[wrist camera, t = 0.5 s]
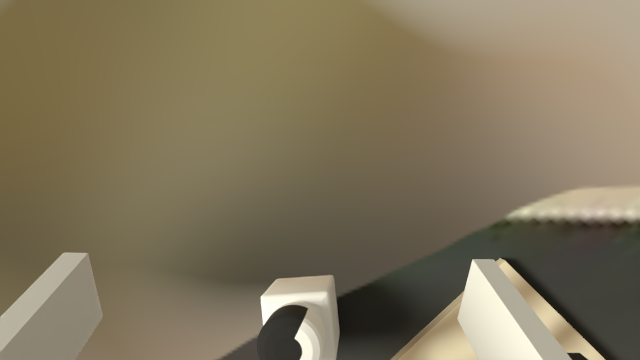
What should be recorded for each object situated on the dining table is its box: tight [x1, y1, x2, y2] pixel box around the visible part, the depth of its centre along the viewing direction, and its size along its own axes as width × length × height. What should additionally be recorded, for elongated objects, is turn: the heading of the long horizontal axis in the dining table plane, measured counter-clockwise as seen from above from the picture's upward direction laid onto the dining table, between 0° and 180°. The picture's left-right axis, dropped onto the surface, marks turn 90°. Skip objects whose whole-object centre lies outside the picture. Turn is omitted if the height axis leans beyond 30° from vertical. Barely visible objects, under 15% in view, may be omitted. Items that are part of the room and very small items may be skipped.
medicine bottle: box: [257, 275, 340, 360], centre depth 39 cm, size 7×7×12 cm
